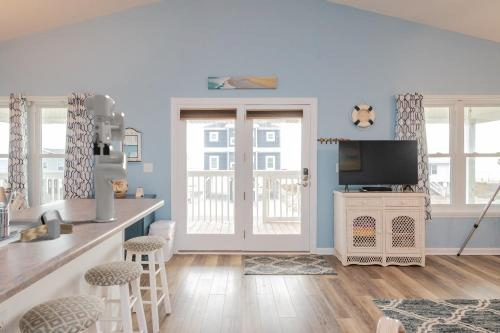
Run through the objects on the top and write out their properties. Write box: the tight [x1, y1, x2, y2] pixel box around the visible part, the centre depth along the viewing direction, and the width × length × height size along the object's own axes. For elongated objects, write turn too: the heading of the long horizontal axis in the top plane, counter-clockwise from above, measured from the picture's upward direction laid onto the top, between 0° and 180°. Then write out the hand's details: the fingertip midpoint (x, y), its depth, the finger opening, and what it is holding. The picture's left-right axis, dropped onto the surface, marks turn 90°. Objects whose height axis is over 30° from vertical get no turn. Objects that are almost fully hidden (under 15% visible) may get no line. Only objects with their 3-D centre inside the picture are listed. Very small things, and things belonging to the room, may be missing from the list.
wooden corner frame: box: [20, 223, 74, 243], centre depth 147 cm, size 18×12×4 cm, turn 178°
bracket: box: [35, 219, 61, 240], centre depth 145 cm, size 8×4×8 cm, turn 88°
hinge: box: [37, 209, 67, 226], centre depth 164 cm, size 17×5×10 cm, turn 9°
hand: (101, 155), depth 164 cm, fingers open, 9 cm apart
